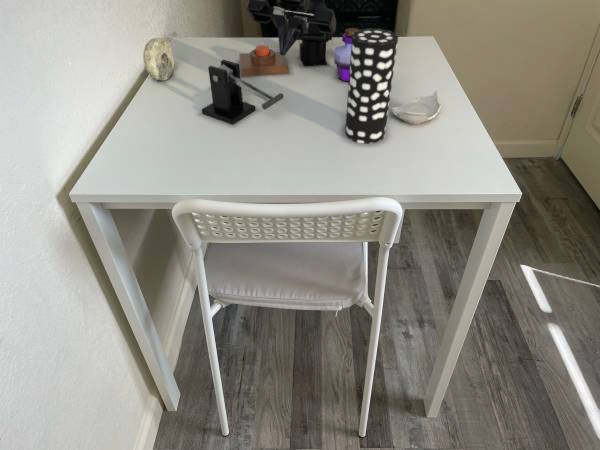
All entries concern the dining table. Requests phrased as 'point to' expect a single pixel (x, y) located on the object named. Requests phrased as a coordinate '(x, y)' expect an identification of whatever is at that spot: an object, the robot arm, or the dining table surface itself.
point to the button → (262, 50)
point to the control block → (263, 64)
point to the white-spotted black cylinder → (370, 84)
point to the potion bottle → (344, 55)
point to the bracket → (226, 96)
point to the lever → (252, 88)
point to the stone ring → (158, 58)
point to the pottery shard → (419, 109)
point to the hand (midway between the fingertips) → (282, 54)
